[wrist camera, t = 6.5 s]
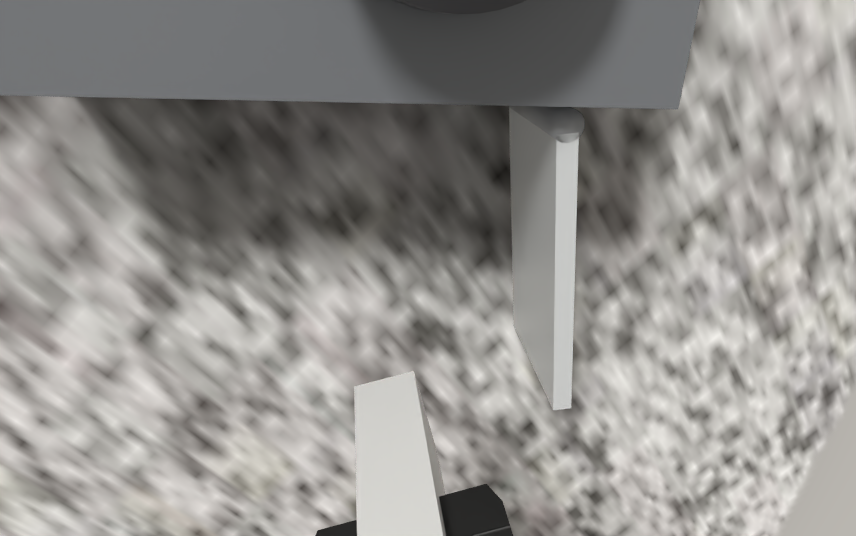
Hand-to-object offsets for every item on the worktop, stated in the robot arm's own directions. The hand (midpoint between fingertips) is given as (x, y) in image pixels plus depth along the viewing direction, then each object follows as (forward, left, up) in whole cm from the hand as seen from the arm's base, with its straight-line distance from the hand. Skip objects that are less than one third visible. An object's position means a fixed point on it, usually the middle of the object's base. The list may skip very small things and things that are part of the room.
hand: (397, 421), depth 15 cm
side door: (+5, +2, -9) cm, 10 cm away
